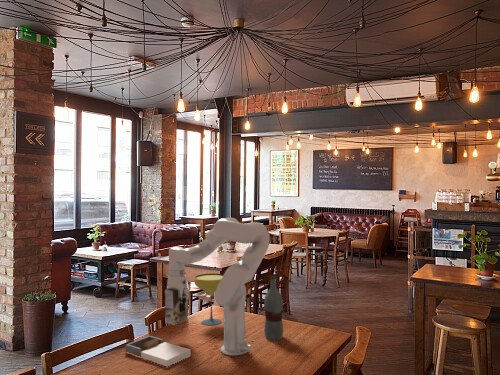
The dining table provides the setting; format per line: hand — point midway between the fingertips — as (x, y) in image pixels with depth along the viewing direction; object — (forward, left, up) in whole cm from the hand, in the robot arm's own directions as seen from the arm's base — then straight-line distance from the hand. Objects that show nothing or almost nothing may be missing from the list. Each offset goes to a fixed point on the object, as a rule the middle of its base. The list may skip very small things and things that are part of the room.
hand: (176, 309), depth 204 cm
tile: (0, +17, -13) cm, 21 cm away
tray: (+3, +17, -15) cm, 23 cm away
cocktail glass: (+5, -31, -15) cm, 35 cm away
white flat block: (-10, +17, -15) cm, 25 cm away
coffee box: (0, 0, -6) cm, 6 cm away
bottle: (-36, -30, -15) cm, 49 cm away
